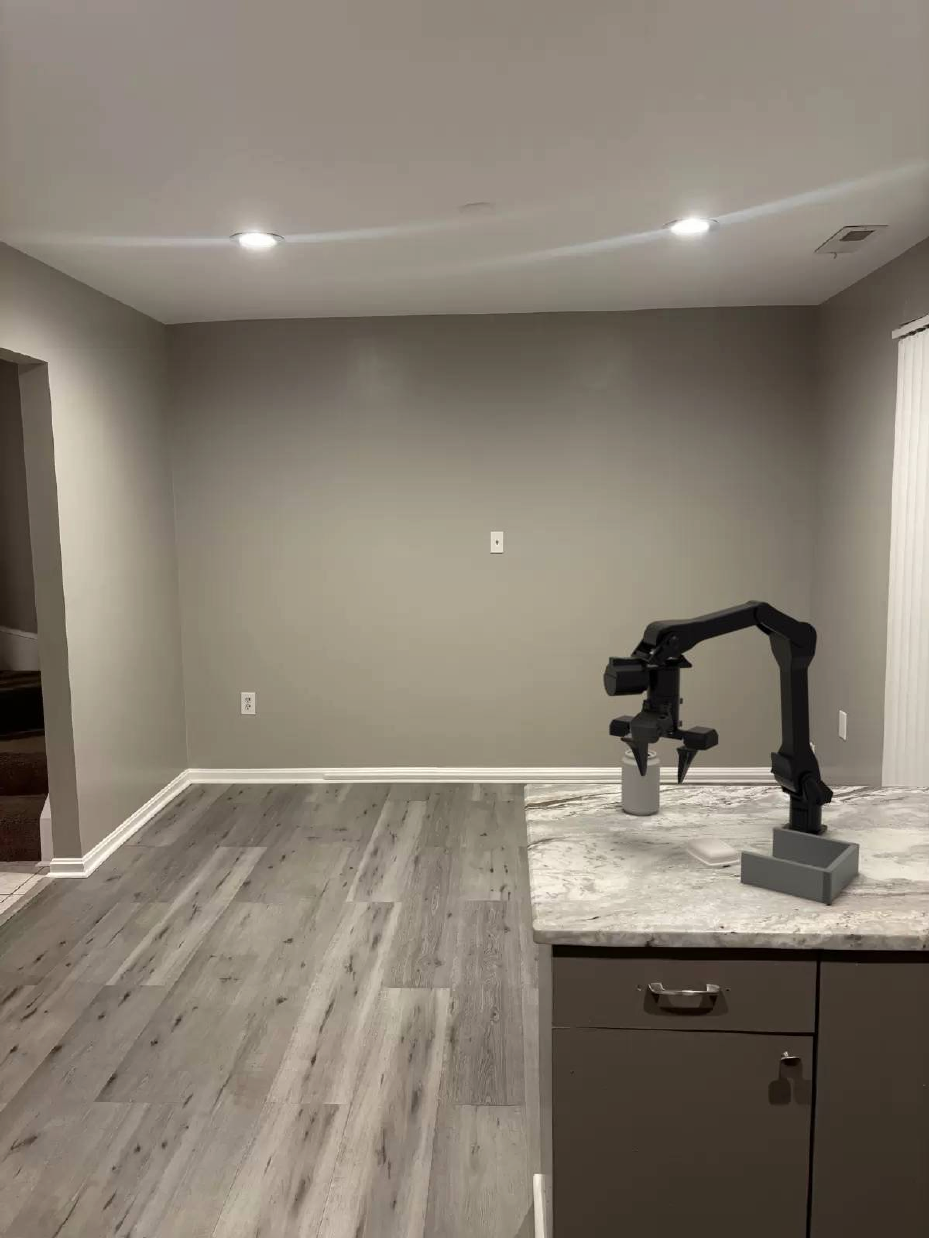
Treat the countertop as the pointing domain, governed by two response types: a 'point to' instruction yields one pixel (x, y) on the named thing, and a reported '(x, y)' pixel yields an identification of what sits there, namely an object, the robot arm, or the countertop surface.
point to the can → (640, 785)
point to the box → (803, 865)
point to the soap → (711, 852)
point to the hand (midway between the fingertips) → (661, 779)
